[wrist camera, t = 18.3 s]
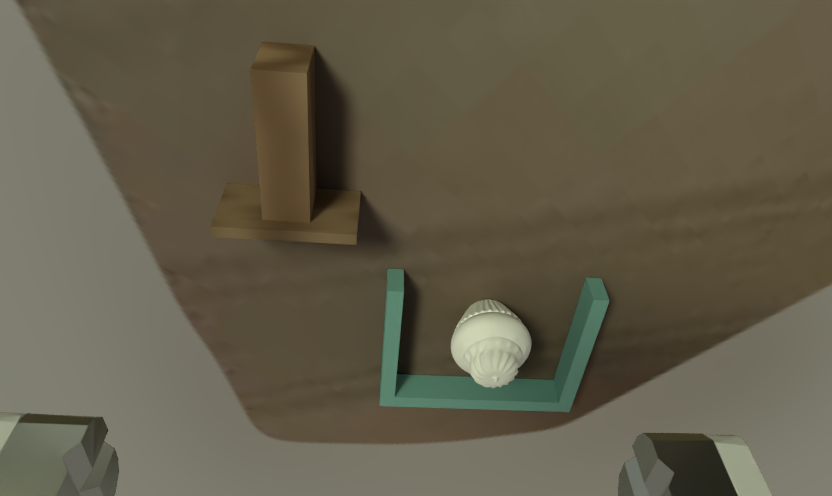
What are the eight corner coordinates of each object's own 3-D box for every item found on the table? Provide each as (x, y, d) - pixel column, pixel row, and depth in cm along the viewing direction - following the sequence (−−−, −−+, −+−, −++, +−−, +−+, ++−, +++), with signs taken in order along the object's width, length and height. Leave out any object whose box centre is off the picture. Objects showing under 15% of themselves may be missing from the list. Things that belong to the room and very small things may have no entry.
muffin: (489, 349, 55) (499, 419, 49) (432, 319, 52) (435, 388, 47) (541, 307, 52) (557, 375, 46) (482, 272, 49) (493, 340, 44)
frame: (601, 278, 50) (609, 300, 48) (563, 389, 58) (569, 412, 56) (387, 268, 49) (387, 291, 47) (380, 382, 57) (379, 405, 55)
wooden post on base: (365, 48, 38) (361, 85, 34) (360, 200, 45) (356, 244, 41) (210, 37, 38) (188, 73, 34) (228, 192, 44) (211, 236, 40)
